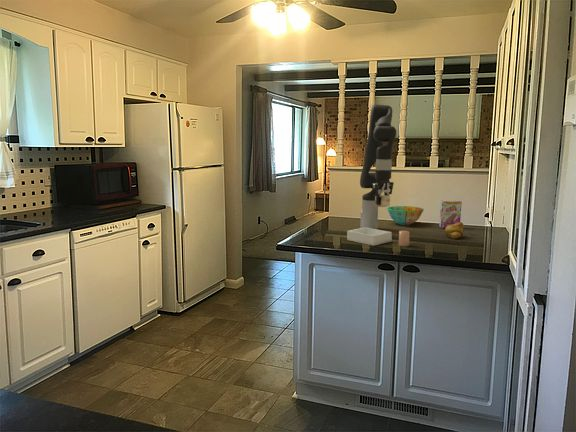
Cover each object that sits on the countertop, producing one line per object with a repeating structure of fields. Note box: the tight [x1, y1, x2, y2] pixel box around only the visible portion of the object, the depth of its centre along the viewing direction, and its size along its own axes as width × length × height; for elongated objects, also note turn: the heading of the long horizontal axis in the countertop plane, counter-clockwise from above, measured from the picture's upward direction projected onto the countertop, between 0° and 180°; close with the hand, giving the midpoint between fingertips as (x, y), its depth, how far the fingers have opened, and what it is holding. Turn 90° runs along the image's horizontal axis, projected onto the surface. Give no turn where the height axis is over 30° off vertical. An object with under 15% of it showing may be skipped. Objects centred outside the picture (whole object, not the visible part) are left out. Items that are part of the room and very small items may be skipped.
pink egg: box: [398, 230, 410, 247], centre depth 229 cm, size 5×5×7 cm
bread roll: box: [444, 221, 465, 240], centre depth 248 cm, size 13×10×8 cm
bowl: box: [386, 205, 425, 226], centre depth 287 cm, size 22×22×10 cm
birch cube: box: [375, 194, 391, 208], centre depth 222 cm, size 5×5×5 cm
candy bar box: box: [439, 199, 462, 229], centre depth 274 cm, size 11×5×16 cm, turn 84°
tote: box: [346, 227, 393, 246], centre depth 239 cm, size 18×15×5 cm
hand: (382, 203), depth 222 cm, fingers closed on birch cube, 5 cm apart
